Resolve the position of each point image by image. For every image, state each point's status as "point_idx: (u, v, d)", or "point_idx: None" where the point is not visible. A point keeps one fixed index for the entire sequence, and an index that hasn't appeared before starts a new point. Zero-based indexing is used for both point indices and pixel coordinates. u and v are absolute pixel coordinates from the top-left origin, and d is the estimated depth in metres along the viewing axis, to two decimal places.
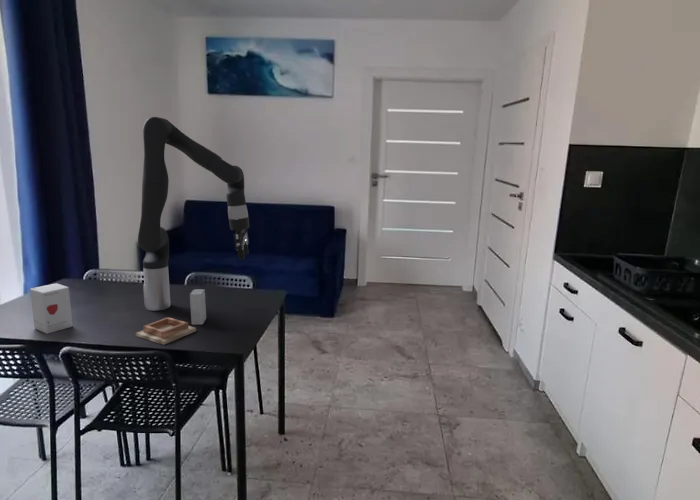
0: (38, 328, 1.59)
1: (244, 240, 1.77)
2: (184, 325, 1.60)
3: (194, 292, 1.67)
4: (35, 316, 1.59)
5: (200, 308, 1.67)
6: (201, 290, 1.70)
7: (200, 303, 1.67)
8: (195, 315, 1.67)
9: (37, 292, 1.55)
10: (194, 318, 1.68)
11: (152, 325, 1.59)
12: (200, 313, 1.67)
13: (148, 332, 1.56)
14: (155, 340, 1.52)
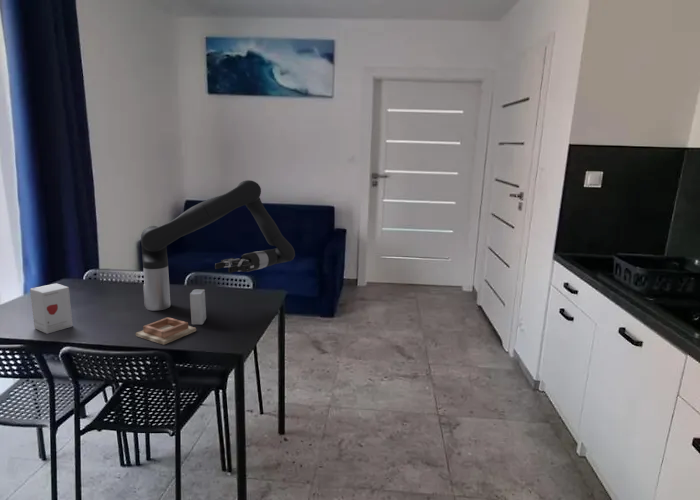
0: (38, 328, 1.59)
1: None
2: (184, 325, 1.60)
3: (194, 292, 1.67)
4: (35, 316, 1.59)
5: (200, 308, 1.67)
6: (201, 290, 1.70)
7: (200, 303, 1.67)
8: (195, 315, 1.67)
9: (37, 292, 1.55)
10: (194, 318, 1.68)
11: (152, 325, 1.59)
12: (200, 313, 1.67)
13: (148, 332, 1.56)
14: (155, 340, 1.52)
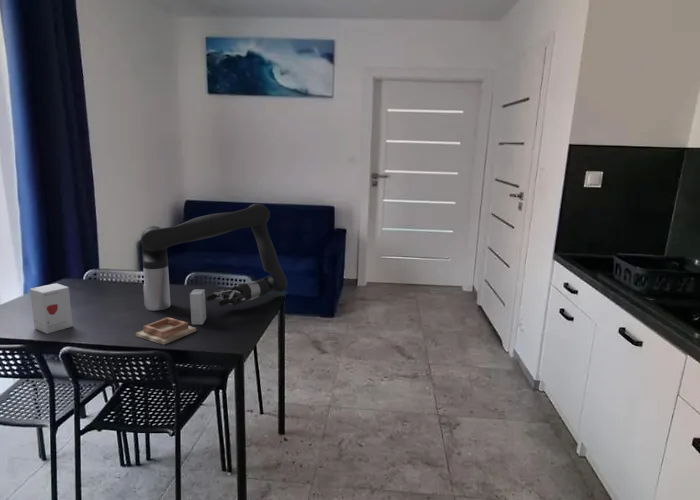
0: (38, 328, 1.59)
1: None
2: (184, 325, 1.60)
3: (194, 292, 1.67)
4: (35, 316, 1.59)
5: (200, 308, 1.67)
6: (201, 290, 1.70)
7: (200, 303, 1.67)
8: (195, 315, 1.67)
9: (37, 292, 1.55)
10: (194, 318, 1.68)
11: (152, 325, 1.59)
12: (200, 313, 1.67)
13: (148, 332, 1.56)
14: (155, 340, 1.52)
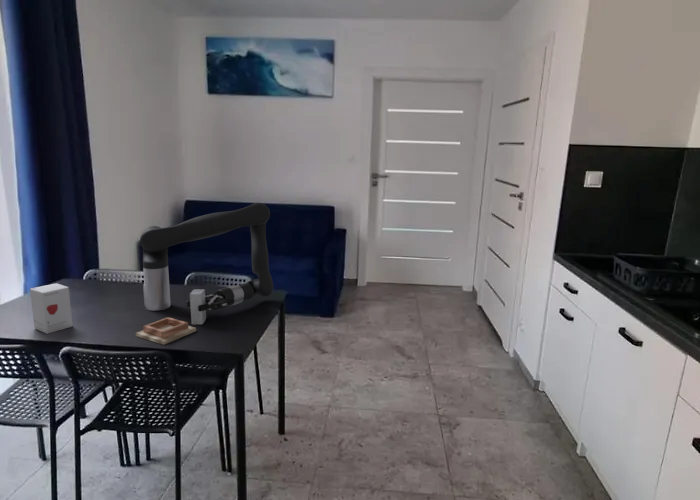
0: (38, 328, 1.59)
1: None
2: (184, 325, 1.60)
3: (194, 292, 1.67)
4: (35, 316, 1.59)
5: None
6: (201, 290, 1.70)
7: (200, 303, 1.67)
8: (195, 315, 1.67)
9: (37, 292, 1.55)
10: (194, 318, 1.68)
11: (152, 325, 1.59)
12: (200, 313, 1.67)
13: (148, 332, 1.56)
14: (155, 340, 1.52)
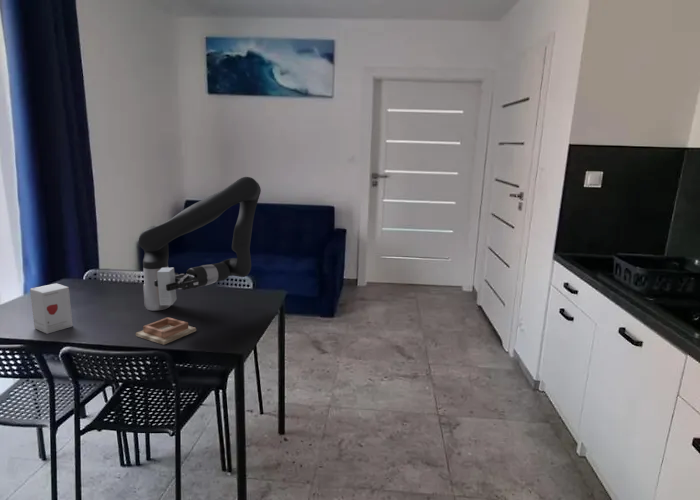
0: (38, 328, 1.59)
1: None
2: (184, 325, 1.60)
3: (161, 270, 1.54)
4: (35, 316, 1.59)
5: None
6: (170, 268, 1.57)
7: (168, 282, 1.54)
8: (164, 295, 1.54)
9: (37, 292, 1.55)
10: (162, 298, 1.55)
11: (152, 325, 1.59)
12: (169, 293, 1.54)
13: (148, 332, 1.56)
14: (155, 340, 1.52)
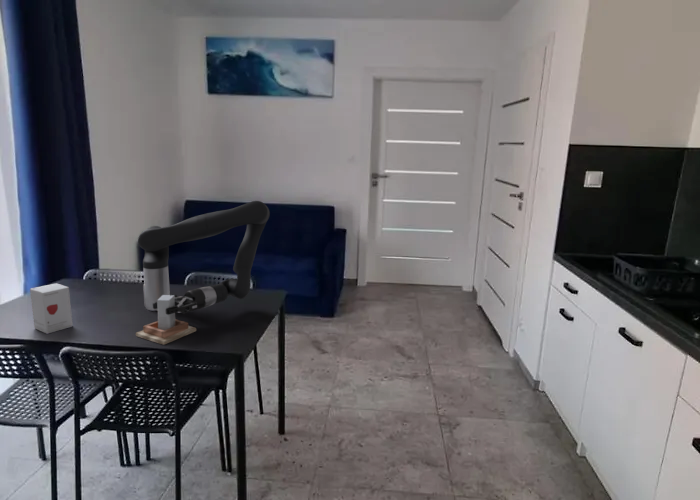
0: (38, 328, 1.59)
1: None
2: (184, 325, 1.60)
3: (162, 298, 1.55)
4: (35, 316, 1.59)
5: (168, 315, 1.55)
6: (170, 296, 1.58)
7: None
8: (163, 323, 1.56)
9: (37, 292, 1.55)
10: (161, 326, 1.56)
11: (152, 325, 1.59)
12: (168, 321, 1.56)
13: (148, 332, 1.56)
14: (155, 340, 1.52)
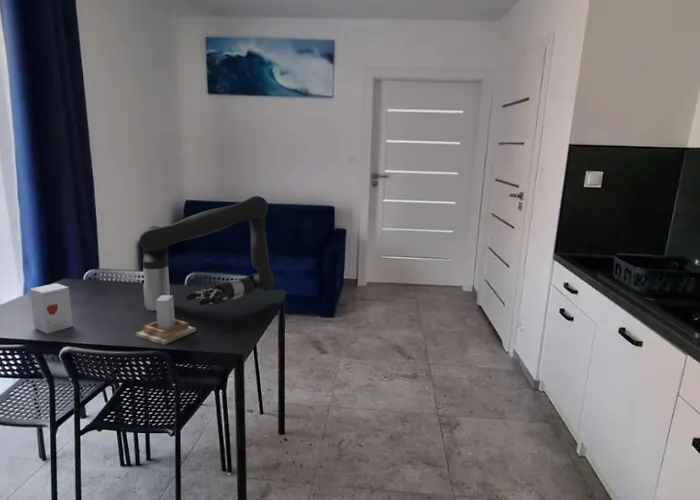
0: (38, 328, 1.59)
1: None
2: (184, 325, 1.60)
3: (160, 299, 1.55)
4: (35, 316, 1.59)
5: (167, 316, 1.55)
6: (169, 296, 1.58)
7: (167, 310, 1.55)
8: (162, 323, 1.56)
9: (37, 292, 1.55)
10: (160, 327, 1.56)
11: (152, 325, 1.59)
12: (167, 321, 1.56)
13: (148, 332, 1.56)
14: (155, 340, 1.52)
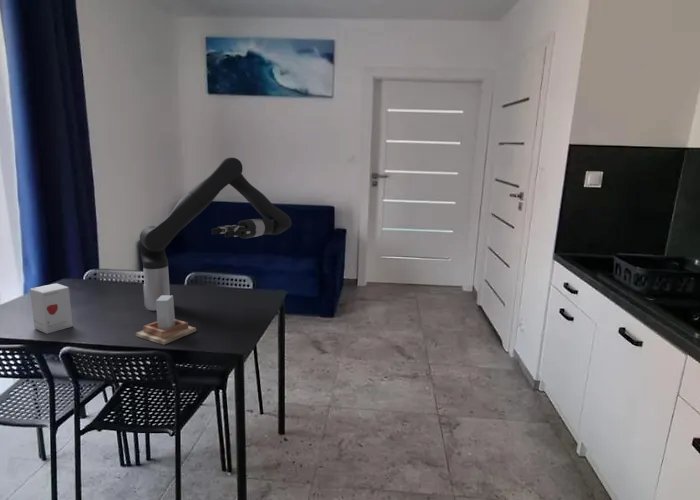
0: (38, 328, 1.59)
1: None
2: (184, 325, 1.60)
3: (160, 299, 1.55)
4: (35, 316, 1.59)
5: (167, 316, 1.55)
6: (169, 296, 1.58)
7: (167, 310, 1.55)
8: (162, 323, 1.56)
9: (37, 292, 1.55)
10: (160, 327, 1.56)
11: (152, 325, 1.59)
12: (167, 321, 1.56)
13: (148, 332, 1.56)
14: (155, 340, 1.52)
